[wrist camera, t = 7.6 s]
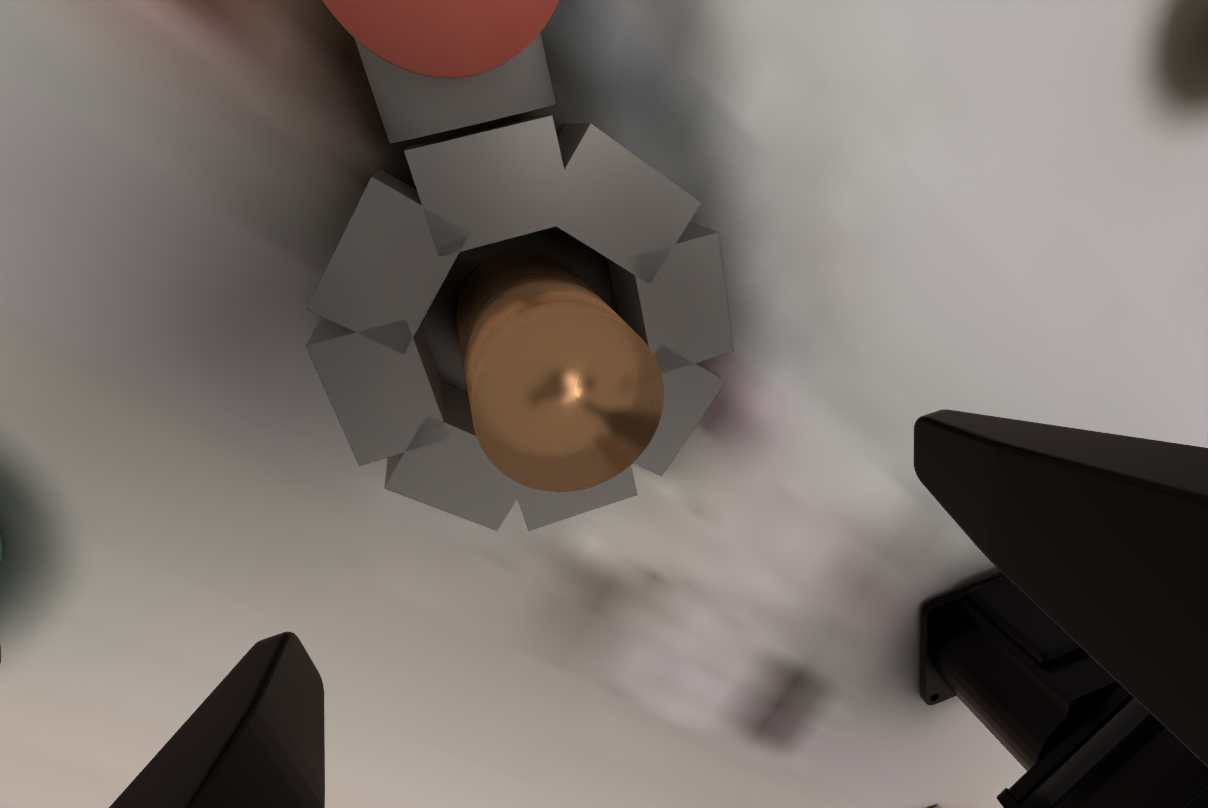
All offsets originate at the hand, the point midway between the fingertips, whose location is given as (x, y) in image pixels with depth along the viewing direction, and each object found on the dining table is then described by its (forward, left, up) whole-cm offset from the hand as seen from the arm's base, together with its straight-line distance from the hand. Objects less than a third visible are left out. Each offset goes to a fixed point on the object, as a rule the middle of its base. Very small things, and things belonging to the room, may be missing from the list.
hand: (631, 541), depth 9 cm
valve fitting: (+3, 0, -12) cm, 12 cm away
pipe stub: (0, 0, -12) cm, 12 cm away
